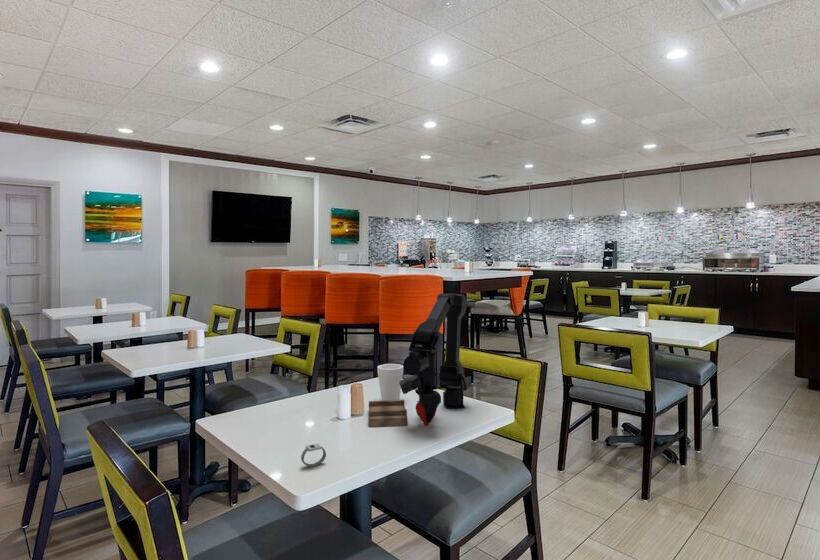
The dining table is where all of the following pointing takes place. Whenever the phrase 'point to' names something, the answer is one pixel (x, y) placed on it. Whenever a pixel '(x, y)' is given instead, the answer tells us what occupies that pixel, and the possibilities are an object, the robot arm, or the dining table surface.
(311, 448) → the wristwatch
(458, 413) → the dining table surface
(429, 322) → the robot arm
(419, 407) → the strawberry
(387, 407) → the stand
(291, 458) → the dining table surface
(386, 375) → the foam cup
